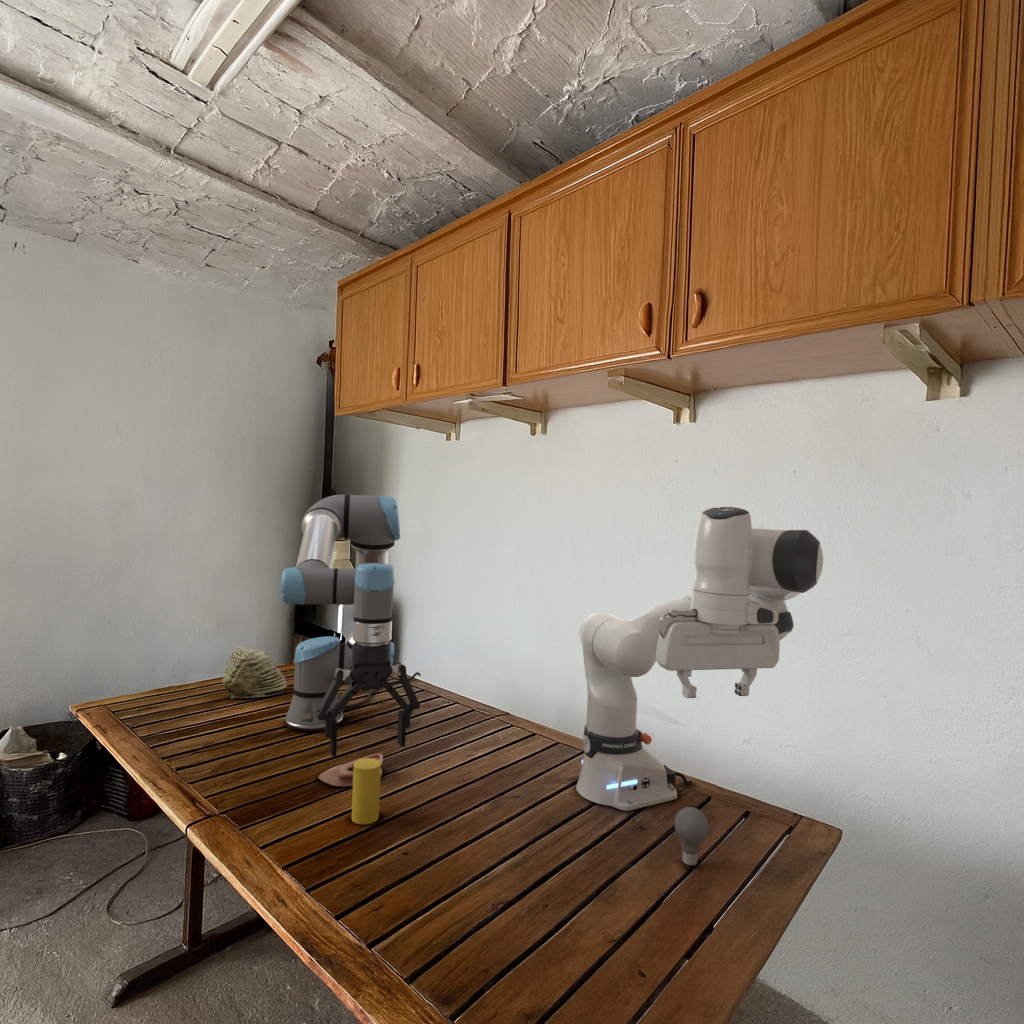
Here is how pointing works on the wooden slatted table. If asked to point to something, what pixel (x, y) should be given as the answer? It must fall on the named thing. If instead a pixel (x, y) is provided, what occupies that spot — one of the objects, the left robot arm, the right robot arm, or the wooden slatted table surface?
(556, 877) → the wooden slatted table surface
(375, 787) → the cylinder
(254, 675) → the fossil
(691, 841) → the light bulb
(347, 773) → the anatomical model
